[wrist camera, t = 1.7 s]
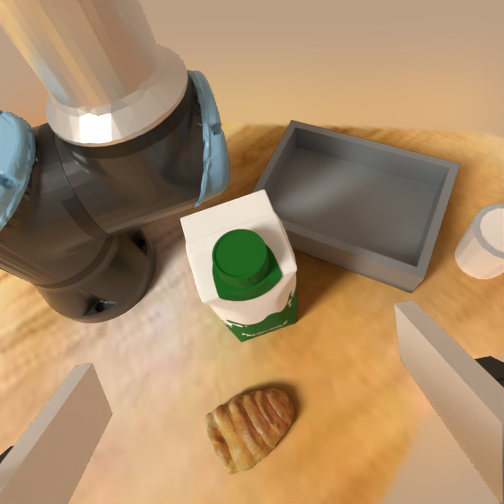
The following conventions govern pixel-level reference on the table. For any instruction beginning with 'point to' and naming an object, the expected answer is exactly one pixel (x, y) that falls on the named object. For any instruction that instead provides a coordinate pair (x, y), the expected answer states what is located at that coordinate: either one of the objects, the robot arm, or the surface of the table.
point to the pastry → (248, 427)
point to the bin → (359, 202)
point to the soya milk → (243, 265)
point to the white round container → (483, 244)
